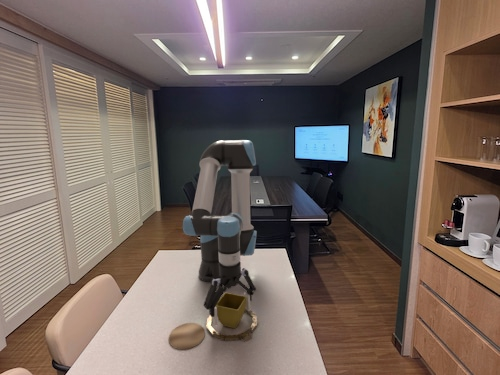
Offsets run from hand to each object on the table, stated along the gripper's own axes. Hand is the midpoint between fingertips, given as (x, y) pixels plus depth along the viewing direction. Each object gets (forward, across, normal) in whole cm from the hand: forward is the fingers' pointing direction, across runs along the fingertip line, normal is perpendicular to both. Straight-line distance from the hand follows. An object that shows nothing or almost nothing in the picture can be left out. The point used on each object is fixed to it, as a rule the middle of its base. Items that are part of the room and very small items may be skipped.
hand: (231, 316), depth 102 cm
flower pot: (+3, 0, 0) cm, 3 cm away
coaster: (+3, -16, +3) cm, 17 cm away
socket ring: (+3, 0, 0) cm, 3 cm away
